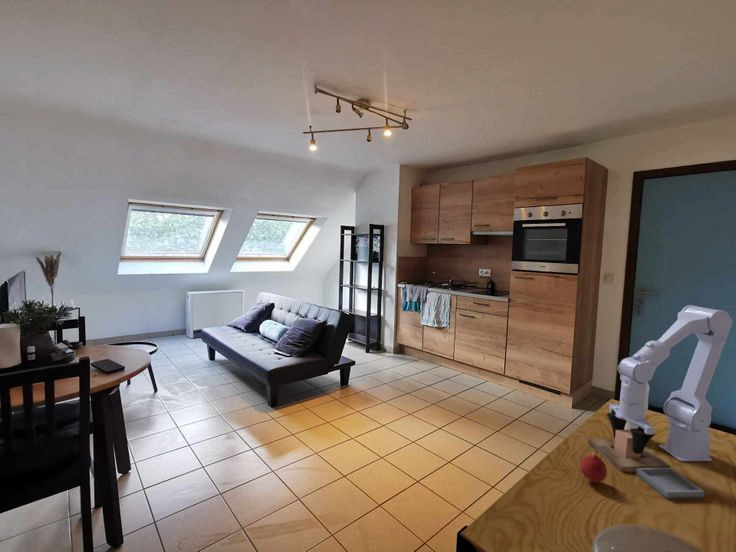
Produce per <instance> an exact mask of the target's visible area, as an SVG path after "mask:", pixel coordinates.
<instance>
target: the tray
mask: <svg viewBox="0 0 736 552" xmlns="http://www.w3.org/2000/svg"><path fill="white" fill-rule="evenodd" d="M635 475H636V476H637V477H638V478H640V479H642V481H643V482H645V483H646V484H647V485H649V486H650V488H652V489H653V490H654V491H656V492H657V493H658V494H659V495H661V496H662V497H663V498H664V499H666V500H685V499H686V500H689V499H690V500H691V499H692V500H693V499H694V500H695V499H696V500H697V499H705V494H706V493H705V491H704V489H702V488H700V487H699V486H698V485H696V484H695V483H693V482H692V481H690V480H689V479H687V478H686V477H685V476H683V475H682V474H680V473H678V471H676V470H674V469H673V468H672V467H671V468H637V470H636V473H635Z"/></svg>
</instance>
